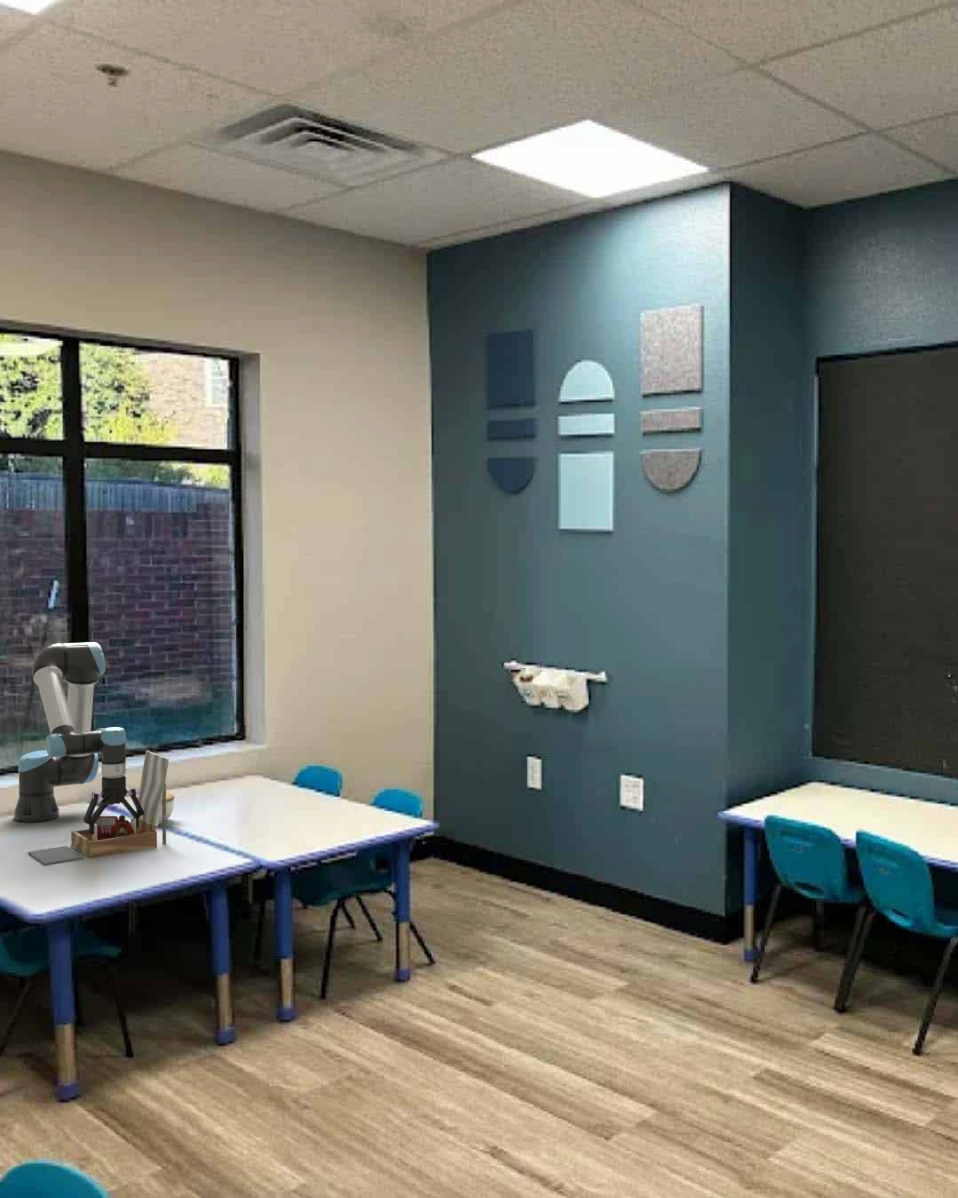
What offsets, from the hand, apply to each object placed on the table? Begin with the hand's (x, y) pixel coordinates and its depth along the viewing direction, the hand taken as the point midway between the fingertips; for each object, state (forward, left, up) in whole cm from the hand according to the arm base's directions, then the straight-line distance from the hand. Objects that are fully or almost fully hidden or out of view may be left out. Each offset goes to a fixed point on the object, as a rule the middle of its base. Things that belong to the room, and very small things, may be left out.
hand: (114, 840), depth 377 cm
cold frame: (0, +2, -2) cm, 3 cm away
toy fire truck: (0, 0, -2) cm, 2 cm away
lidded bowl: (-23, +24, -2) cm, 33 cm away
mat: (0, -19, -2) cm, 19 cm away
